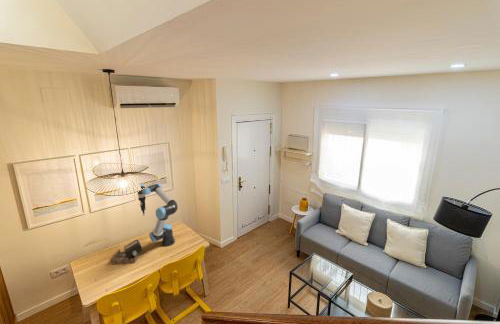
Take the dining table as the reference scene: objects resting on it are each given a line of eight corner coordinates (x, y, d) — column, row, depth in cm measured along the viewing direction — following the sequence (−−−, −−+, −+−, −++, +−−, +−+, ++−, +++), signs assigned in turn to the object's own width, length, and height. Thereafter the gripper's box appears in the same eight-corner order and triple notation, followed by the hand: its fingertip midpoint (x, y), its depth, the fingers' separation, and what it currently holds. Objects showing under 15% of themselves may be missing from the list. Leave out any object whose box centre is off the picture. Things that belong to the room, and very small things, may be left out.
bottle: (140, 244, 280) (144, 252, 259) (126, 252, 273) (129, 261, 251) (137, 238, 278) (140, 246, 257) (123, 246, 270) (125, 255, 249)
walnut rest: (141, 252, 272) (140, 248, 271) (135, 262, 255) (134, 258, 254) (119, 253, 271) (118, 249, 269) (111, 264, 253) (110, 259, 252)
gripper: (140, 194, 287) (142, 212, 293) (136, 199, 274) (139, 217, 280) (146, 194, 288) (149, 212, 293) (143, 198, 275) (146, 217, 281)
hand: (144, 215), depth 287 cm, fingers closed
